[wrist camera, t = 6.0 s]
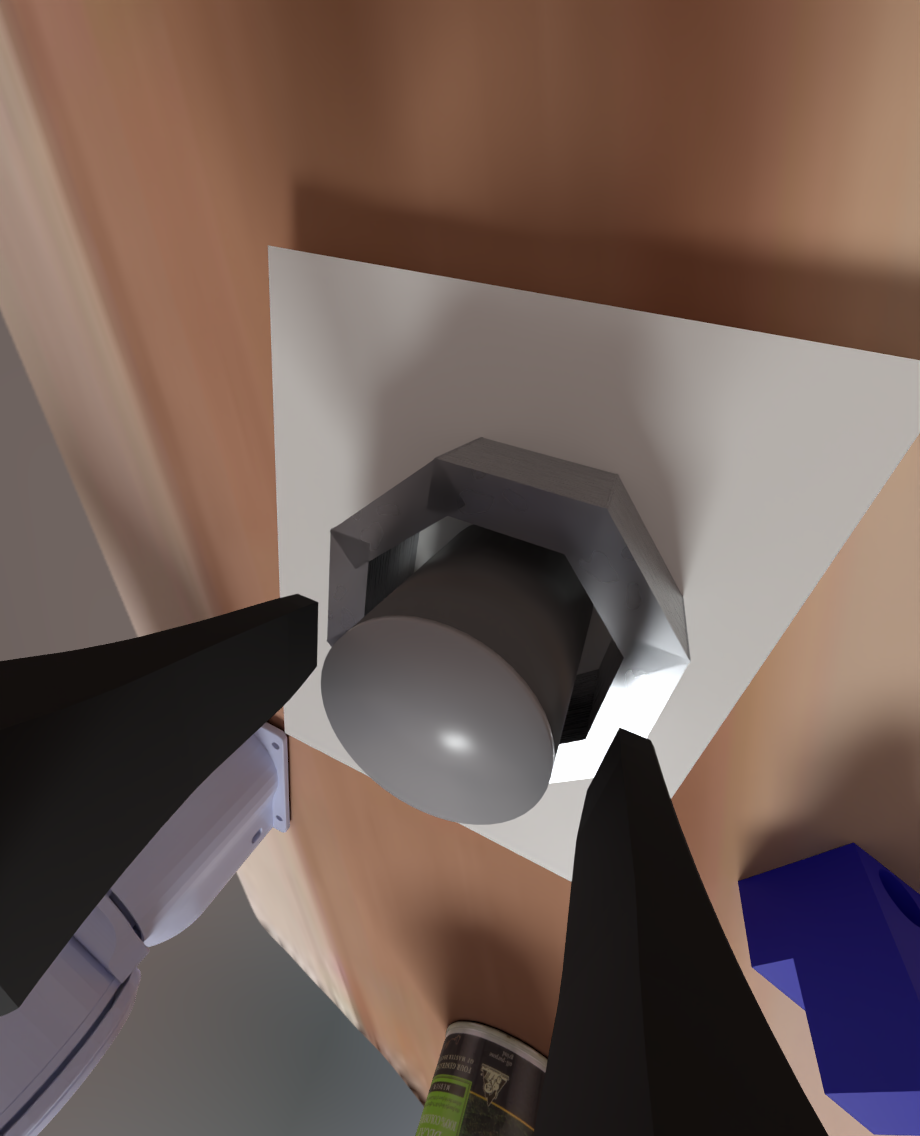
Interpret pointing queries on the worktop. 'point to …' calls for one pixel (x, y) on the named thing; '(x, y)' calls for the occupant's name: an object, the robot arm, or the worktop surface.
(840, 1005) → the blue u-shaped cradle block
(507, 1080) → the coffee can
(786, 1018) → the worktop surface
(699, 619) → the socket board
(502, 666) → the dark gray cylinder
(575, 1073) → the robot arm
